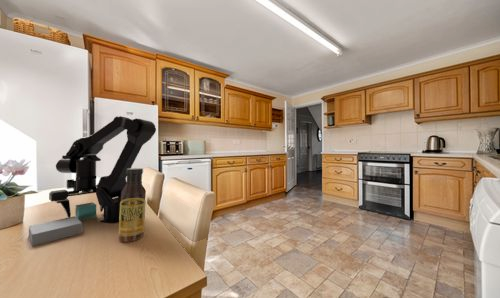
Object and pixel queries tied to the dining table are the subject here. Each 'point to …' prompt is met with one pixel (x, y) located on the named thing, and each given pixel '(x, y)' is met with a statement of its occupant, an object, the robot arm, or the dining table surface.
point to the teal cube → (85, 211)
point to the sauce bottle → (132, 207)
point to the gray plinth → (54, 230)
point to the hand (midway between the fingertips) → (86, 214)
